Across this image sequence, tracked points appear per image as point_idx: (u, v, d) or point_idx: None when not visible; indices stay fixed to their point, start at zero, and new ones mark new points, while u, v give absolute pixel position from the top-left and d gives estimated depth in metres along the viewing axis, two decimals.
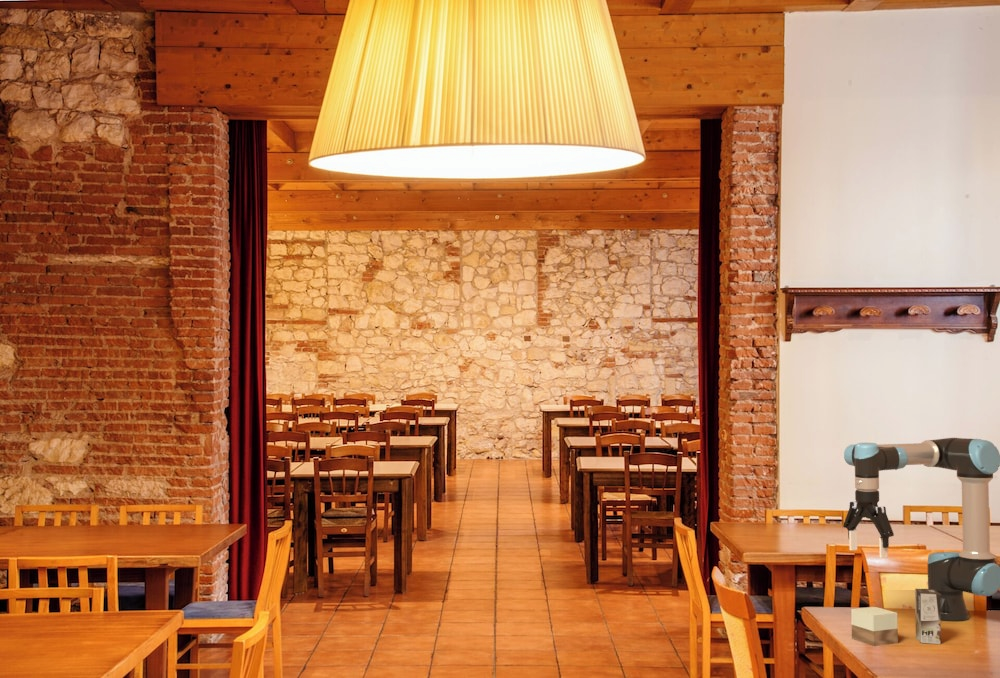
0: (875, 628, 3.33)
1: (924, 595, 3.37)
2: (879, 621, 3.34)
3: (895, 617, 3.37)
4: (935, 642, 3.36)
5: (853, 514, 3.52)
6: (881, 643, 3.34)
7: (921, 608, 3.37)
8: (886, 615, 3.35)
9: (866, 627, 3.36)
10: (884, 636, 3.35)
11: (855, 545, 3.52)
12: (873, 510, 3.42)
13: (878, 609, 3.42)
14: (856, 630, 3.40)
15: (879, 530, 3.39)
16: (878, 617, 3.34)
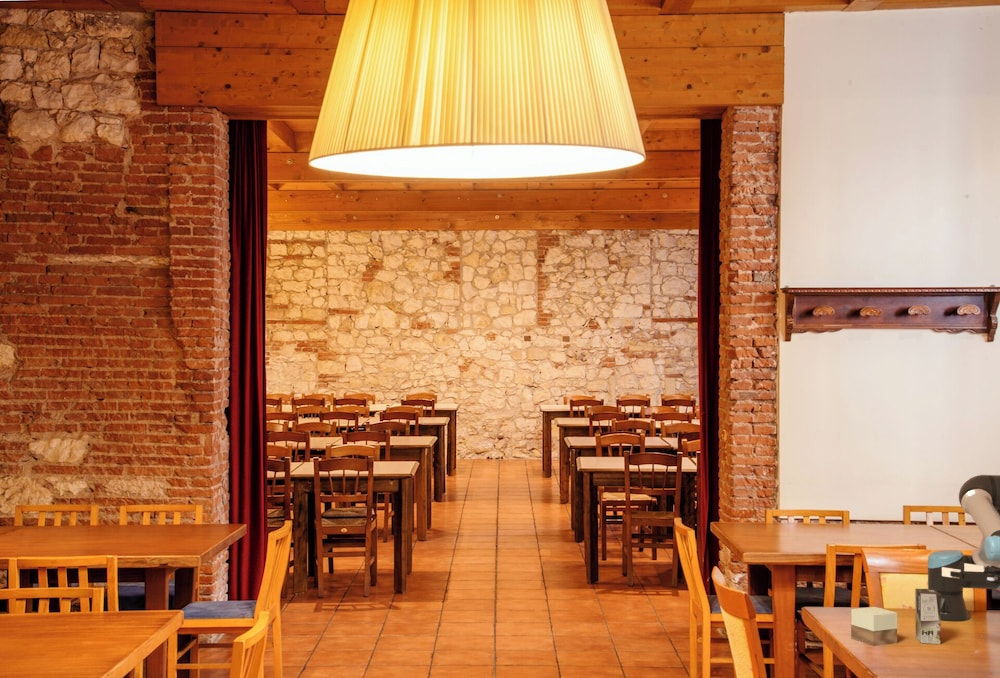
0: (875, 628, 3.33)
1: (924, 595, 3.37)
2: (879, 621, 3.34)
3: (895, 617, 3.37)
4: (935, 642, 3.36)
5: None
6: (881, 643, 3.34)
7: (921, 608, 3.37)
8: (886, 615, 3.35)
9: (866, 627, 3.36)
10: (884, 636, 3.35)
11: None
12: None
13: (878, 609, 3.42)
14: (856, 630, 3.40)
15: None
16: (879, 617, 3.34)
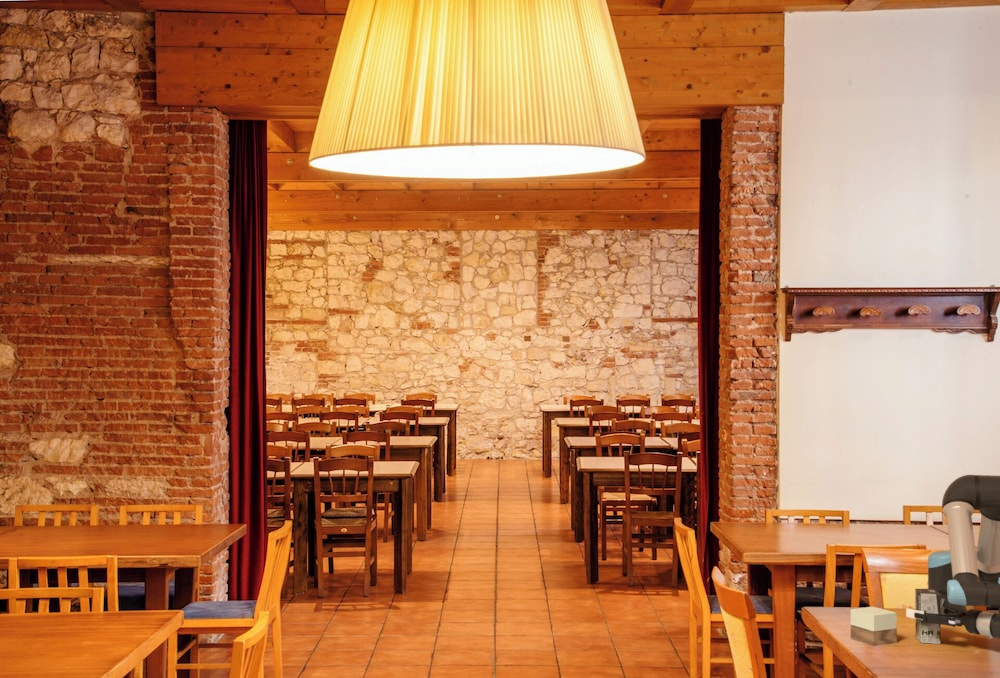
0: (875, 628, 3.33)
1: (924, 595, 3.37)
2: (879, 621, 3.34)
3: (894, 617, 3.37)
4: (935, 642, 3.36)
5: None
6: (880, 643, 3.34)
7: (921, 608, 3.37)
8: (886, 615, 3.36)
9: (866, 627, 3.36)
10: (883, 636, 3.35)
11: None
12: None
13: (877, 609, 3.42)
14: (855, 630, 3.40)
15: None
16: (879, 617, 3.34)
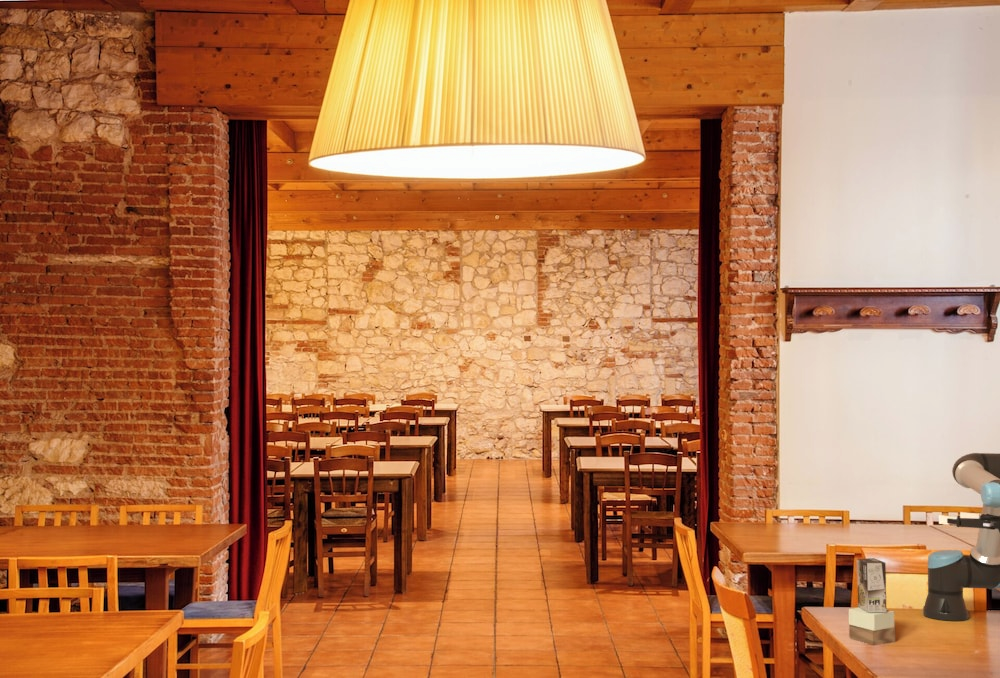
0: (876, 627, 3.34)
1: (870, 564, 3.37)
2: (879, 620, 3.35)
3: (892, 615, 3.39)
4: (881, 611, 3.37)
5: None
6: (880, 642, 3.35)
7: (868, 578, 3.37)
8: (885, 614, 3.37)
9: (865, 626, 3.37)
10: (882, 635, 3.36)
11: None
12: None
13: None
14: (854, 630, 3.41)
15: None
16: (878, 616, 3.35)
